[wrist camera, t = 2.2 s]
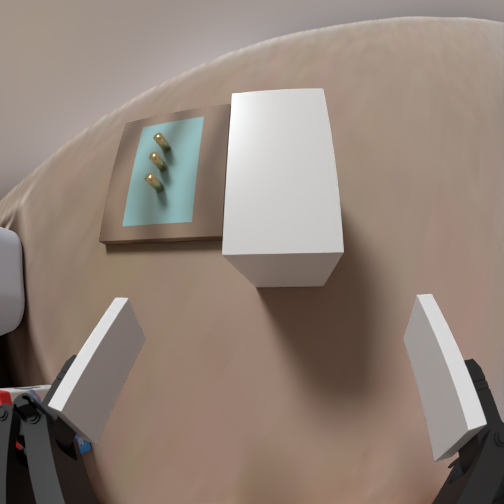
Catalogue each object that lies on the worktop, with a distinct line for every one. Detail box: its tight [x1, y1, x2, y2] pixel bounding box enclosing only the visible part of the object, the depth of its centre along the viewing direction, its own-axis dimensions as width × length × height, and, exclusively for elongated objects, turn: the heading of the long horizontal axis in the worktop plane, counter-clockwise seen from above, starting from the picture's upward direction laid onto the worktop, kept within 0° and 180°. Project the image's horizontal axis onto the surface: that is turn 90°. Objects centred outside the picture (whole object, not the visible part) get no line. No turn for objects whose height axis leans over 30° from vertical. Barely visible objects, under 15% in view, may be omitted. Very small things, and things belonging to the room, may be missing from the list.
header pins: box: [145, 133, 171, 192], centre depth 28 cm, size 1×6×2 cm, turn 179°
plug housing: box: [222, 89, 344, 287], centre depth 21 cm, size 6×11×12 cm, turn 179°
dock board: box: [99, 104, 231, 244], centre depth 30 cm, size 14×16×1 cm
